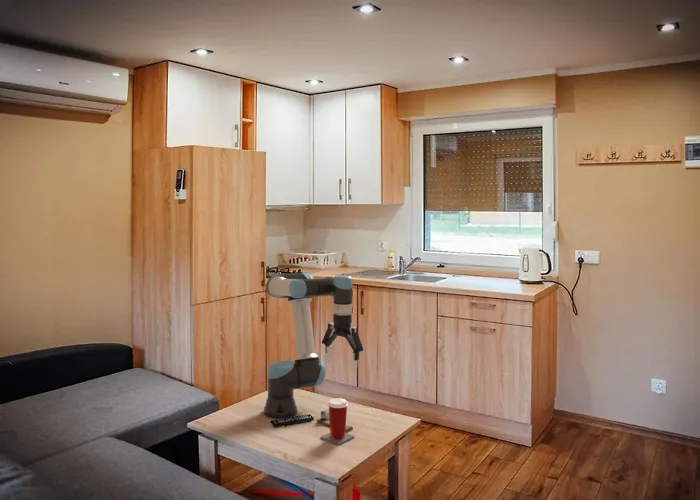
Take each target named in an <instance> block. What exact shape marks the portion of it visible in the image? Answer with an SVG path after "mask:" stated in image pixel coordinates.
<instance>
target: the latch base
mask: <svg viewBox="0 0 700 500" xmlns="http://www.w3.org/2000/svg"><path fill="white" fill-rule="evenodd" d="M316 423H317V424H320V425H323V426H325V427H326V426H327V427H328V428H330V421H329V418H328V419H322V418H321V417H319V418H317V419H316ZM353 428H354V427H353V426H352V425H349V424H346V428H345V433H347V434H348V432H350V431H352V430H353V431H354V429H353Z"/></svg>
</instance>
